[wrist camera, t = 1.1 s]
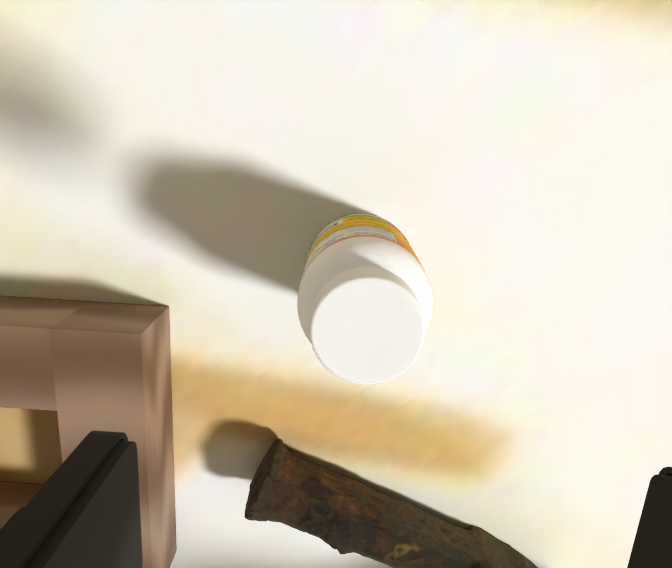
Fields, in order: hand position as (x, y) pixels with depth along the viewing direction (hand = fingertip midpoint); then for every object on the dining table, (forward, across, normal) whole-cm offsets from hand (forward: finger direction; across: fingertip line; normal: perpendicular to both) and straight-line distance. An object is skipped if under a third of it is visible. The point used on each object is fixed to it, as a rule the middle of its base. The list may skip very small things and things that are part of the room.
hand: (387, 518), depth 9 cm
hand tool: (+19, -4, +15) cm, 24 cm away
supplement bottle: (+19, 0, 0) cm, 19 cm away
